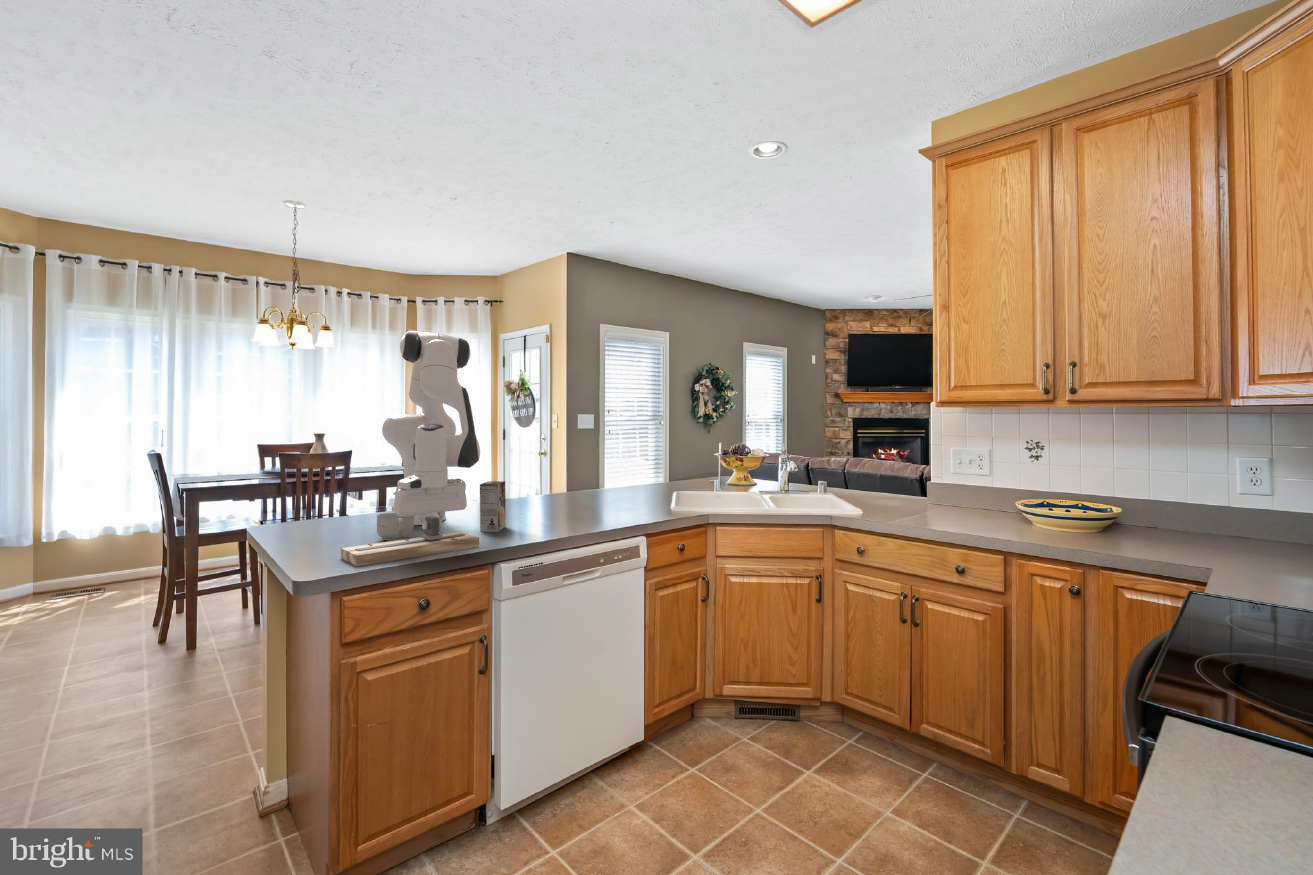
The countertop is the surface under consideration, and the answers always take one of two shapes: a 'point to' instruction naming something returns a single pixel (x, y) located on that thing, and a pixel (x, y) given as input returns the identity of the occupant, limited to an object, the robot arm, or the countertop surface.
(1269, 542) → the countertop surface
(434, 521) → the fader tab
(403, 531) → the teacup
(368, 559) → the board
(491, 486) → the coffee box
